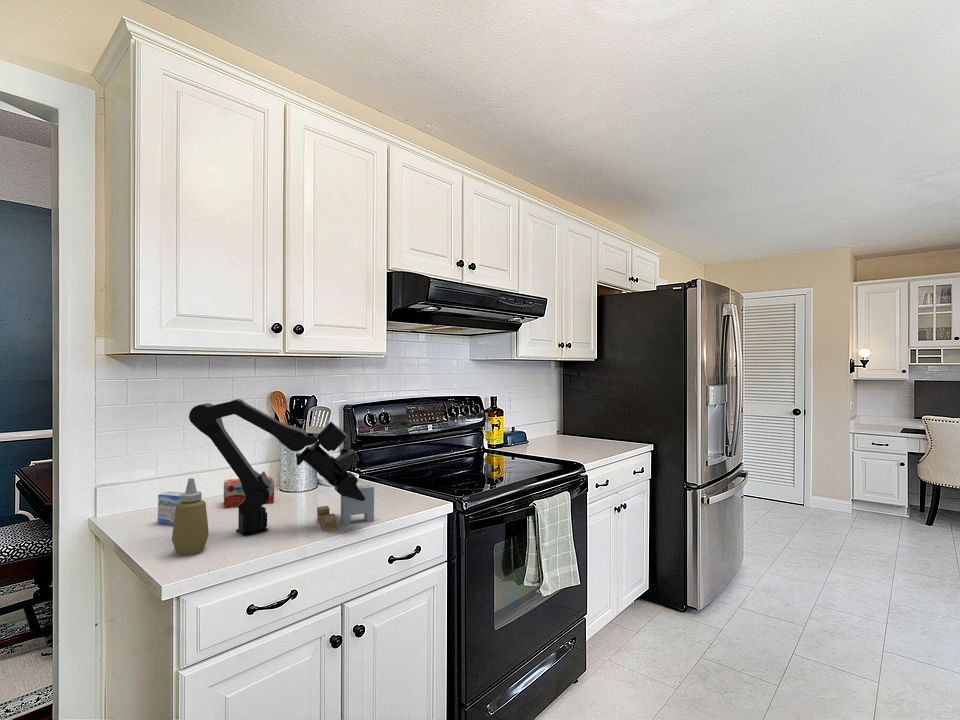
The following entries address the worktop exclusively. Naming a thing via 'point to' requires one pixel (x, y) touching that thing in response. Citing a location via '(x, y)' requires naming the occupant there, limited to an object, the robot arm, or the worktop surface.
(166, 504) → the medicine box
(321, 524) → the tan stepped bar
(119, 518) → the worktop surface
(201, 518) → the squeeze bottle
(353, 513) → the grey slotted plate
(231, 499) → the medicine box
